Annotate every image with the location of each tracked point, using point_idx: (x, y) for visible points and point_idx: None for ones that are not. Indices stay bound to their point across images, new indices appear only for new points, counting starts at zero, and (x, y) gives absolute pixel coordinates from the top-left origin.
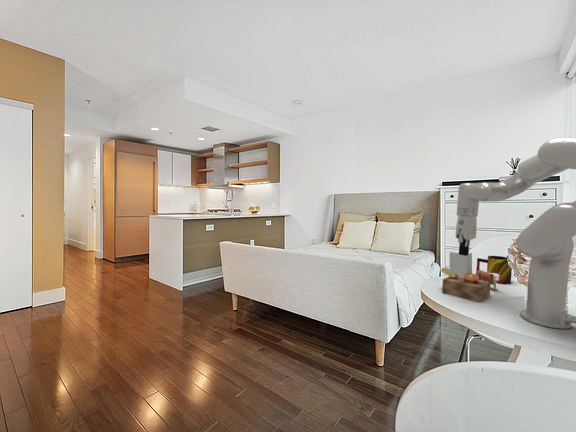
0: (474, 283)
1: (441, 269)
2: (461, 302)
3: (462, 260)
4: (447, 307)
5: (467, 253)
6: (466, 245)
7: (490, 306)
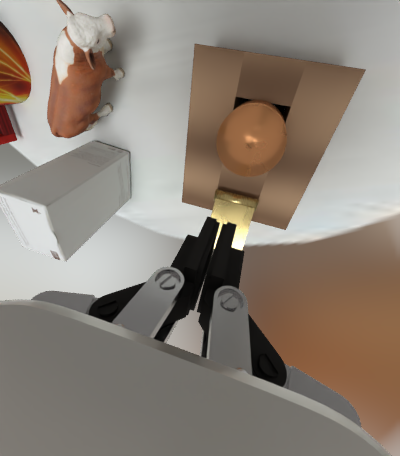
0: (281, 114)
1: None
2: (377, 135)
3: (76, 204)
4: None
5: (226, 230)
6: (235, 301)
7: (386, 9)
